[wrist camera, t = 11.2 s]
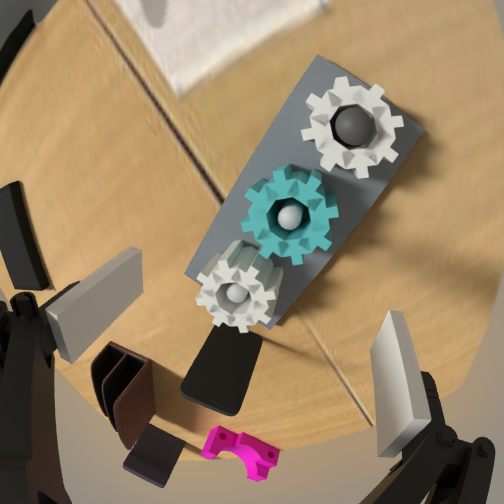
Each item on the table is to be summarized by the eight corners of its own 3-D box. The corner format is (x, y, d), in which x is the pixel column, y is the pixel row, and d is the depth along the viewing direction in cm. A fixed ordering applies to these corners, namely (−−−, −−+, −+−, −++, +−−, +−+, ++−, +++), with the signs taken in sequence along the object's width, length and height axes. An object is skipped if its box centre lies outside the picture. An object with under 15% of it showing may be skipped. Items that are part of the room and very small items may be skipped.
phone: (217, 321, 43) (175, 393, 30) (218, 317, 43) (176, 390, 30) (263, 340, 43) (236, 419, 29) (264, 336, 42) (238, 416, 29)
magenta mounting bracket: (280, 449, 55) (273, 476, 49) (263, 456, 58) (256, 481, 51) (225, 421, 54) (214, 449, 48) (211, 429, 57) (200, 455, 50)
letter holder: (152, 358, 51) (114, 410, 39) (156, 412, 60) (130, 455, 47) (110, 339, 52) (69, 384, 40) (120, 395, 61) (92, 435, 48)
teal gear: (281, 147, 30) (272, 150, 25) (352, 195, 31) (358, 208, 25) (239, 214, 34) (223, 230, 29) (305, 257, 35) (301, 281, 29)
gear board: (317, 57, 27) (315, 33, 19) (420, 130, 27) (450, 130, 19) (188, 269, 41) (158, 301, 33) (272, 323, 41) (259, 365, 33)
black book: (22, 283, 56) (14, 289, 53) (-6, 194, 48) (-15, 197, 45) (51, 284, 52) (41, 290, 49) (19, 179, 44) (8, 183, 41)
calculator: (146, 427, 65) (122, 468, 51) (148, 421, 63) (122, 464, 49) (183, 446, 64) (162, 489, 51) (186, 441, 62) (164, 486, 49)
